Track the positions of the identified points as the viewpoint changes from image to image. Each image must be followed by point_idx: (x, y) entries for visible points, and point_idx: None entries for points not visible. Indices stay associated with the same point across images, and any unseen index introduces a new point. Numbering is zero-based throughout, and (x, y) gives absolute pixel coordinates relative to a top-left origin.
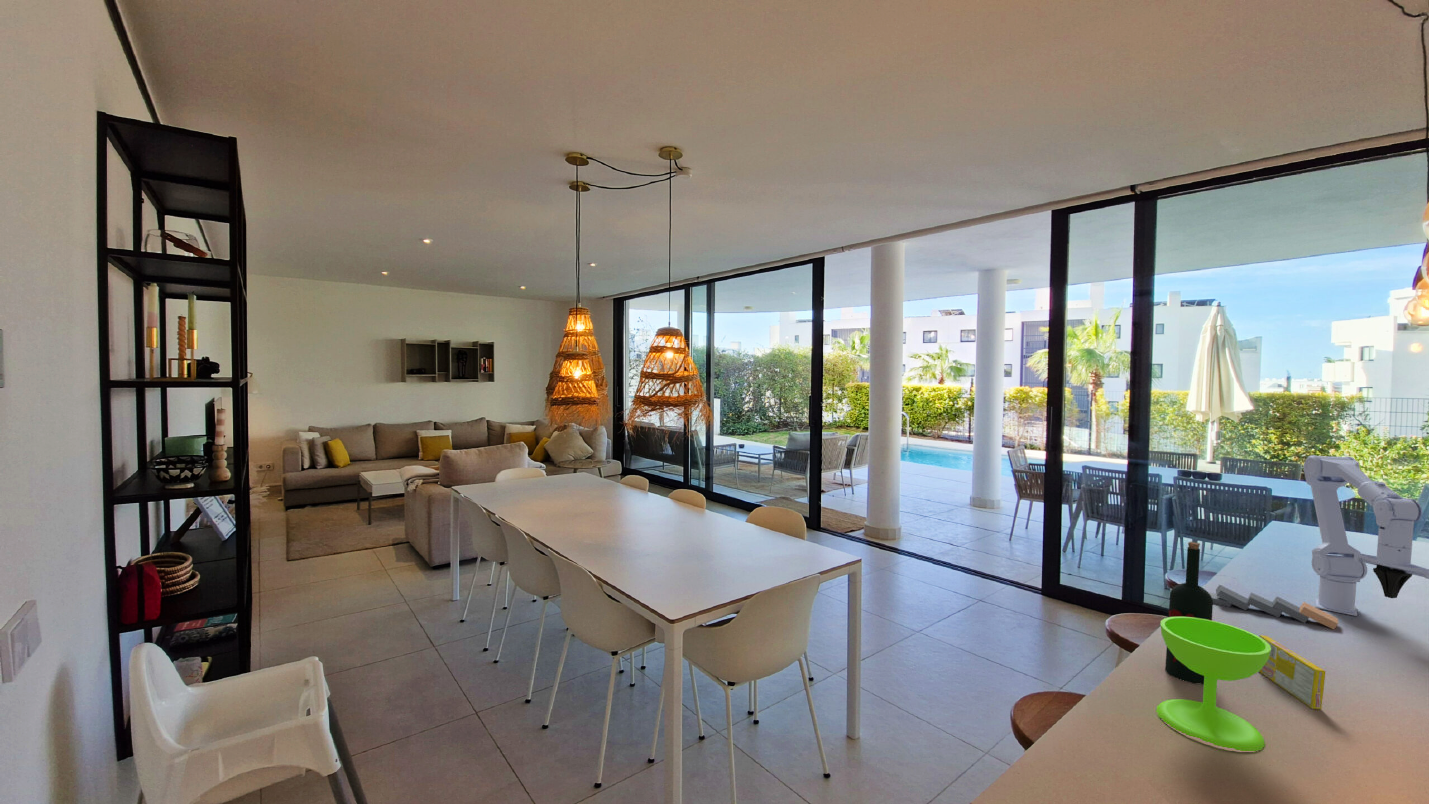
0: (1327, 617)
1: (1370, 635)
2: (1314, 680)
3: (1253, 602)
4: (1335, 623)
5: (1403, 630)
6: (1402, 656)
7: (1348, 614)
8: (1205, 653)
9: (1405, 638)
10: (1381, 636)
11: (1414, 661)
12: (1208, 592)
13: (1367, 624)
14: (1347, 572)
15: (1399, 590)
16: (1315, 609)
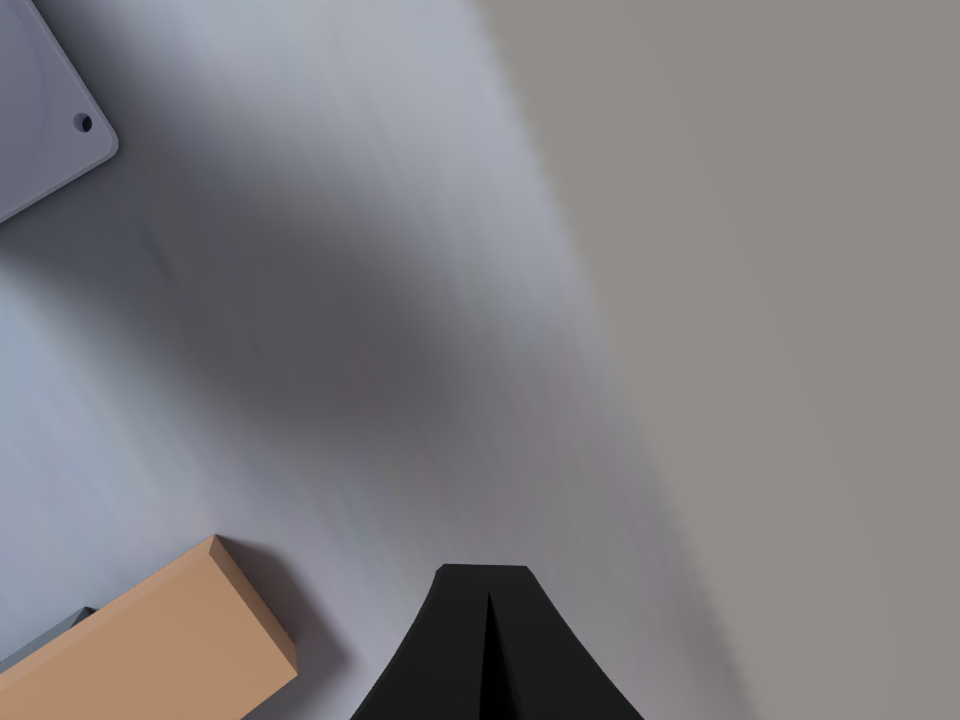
0: (220, 698)
1: (427, 516)
2: None
3: None
4: (287, 680)
5: (430, 123)
6: (684, 703)
7: (80, 175)
8: None
9: (532, 326)
10: (460, 460)
11: (743, 716)
12: None
13: (274, 274)
14: None
15: (575, 646)
16: (101, 704)
